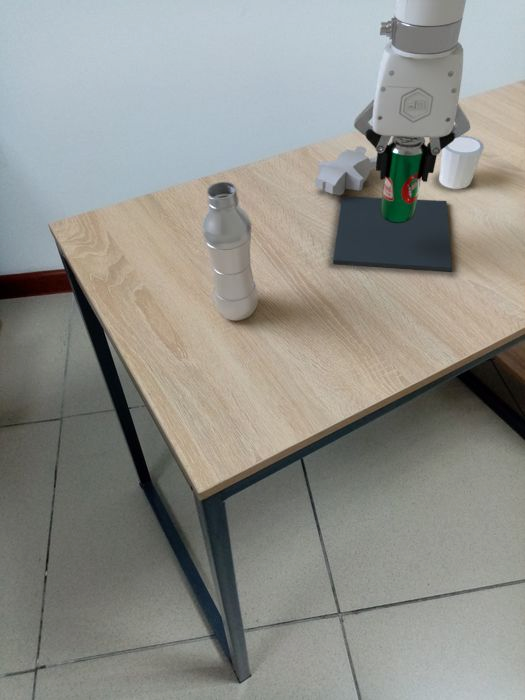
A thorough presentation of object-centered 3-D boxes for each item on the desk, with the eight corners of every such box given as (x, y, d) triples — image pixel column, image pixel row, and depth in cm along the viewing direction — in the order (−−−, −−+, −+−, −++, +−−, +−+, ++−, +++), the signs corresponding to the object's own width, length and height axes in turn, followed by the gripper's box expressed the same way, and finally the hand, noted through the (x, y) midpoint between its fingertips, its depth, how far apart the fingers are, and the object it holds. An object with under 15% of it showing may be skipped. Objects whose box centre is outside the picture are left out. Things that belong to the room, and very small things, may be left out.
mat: (445, 204, 93) (446, 200, 92) (451, 271, 81) (452, 267, 80) (341, 199, 95) (342, 195, 95) (332, 263, 84) (333, 259, 83)
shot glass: (428, 181, 98) (435, 145, 92) (448, 166, 101) (456, 130, 95) (461, 195, 94) (470, 158, 89) (481, 179, 97) (491, 142, 92)
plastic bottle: (211, 325, 76) (188, 205, 61) (220, 293, 81) (201, 174, 66) (255, 327, 76) (243, 207, 61) (262, 295, 80) (252, 175, 65)
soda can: (377, 206, 82) (387, 130, 73) (411, 205, 81) (424, 129, 72) (381, 225, 78) (391, 149, 69) (416, 225, 78) (431, 148, 69)
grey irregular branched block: (303, 165, 94) (355, 133, 101) (303, 191, 98) (353, 158, 104) (346, 183, 89) (397, 148, 96) (344, 209, 93) (393, 174, 100)
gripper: (348, 45, 60) (340, 187, 74) (507, 46, 57) (468, 193, 71) (353, 22, 65) (344, 159, 79) (499, 22, 62) (464, 164, 76)
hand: (403, 174), depth 75 cm, fingers closed on soda can, 5 cm apart
